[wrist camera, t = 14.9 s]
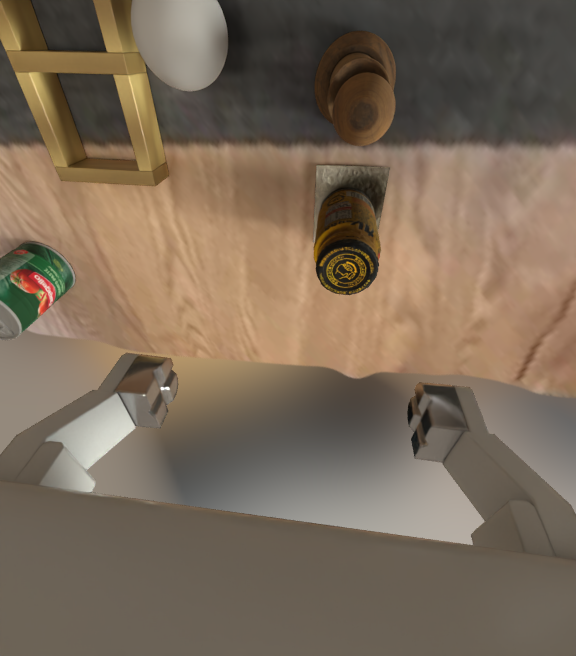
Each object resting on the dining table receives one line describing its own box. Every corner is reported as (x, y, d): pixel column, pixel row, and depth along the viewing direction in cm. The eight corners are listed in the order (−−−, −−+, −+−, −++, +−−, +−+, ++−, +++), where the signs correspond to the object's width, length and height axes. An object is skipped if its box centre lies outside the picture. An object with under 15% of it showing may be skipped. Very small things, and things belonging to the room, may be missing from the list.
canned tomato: (6, 252, 46) (-68, 299, 37) (41, 233, 43) (-31, 278, 35) (52, 296, 50) (-4, 346, 42) (87, 281, 47) (33, 331, 39)
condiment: (313, 241, 39) (304, 301, 30) (316, 164, 33) (307, 209, 24) (375, 244, 38) (386, 306, 29) (389, 166, 33) (408, 213, 24)
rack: (-28, -112, 24) (-73, -131, 21) (107, -115, 23) (76, -136, 20) (80, 171, 37) (60, 181, 34) (169, 175, 36) (155, 186, 33)
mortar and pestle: (340, 140, 32) (340, 213, 18) (301, 73, 29) (265, 100, 15) (406, 89, 28) (464, 131, 15) (369, 8, 25) (400, -32, 12)
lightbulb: (217, -39, 25) (155, -80, 17) (265, 48, 28) (234, 49, 20) (165, 24, 28) (90, 16, 19) (214, 97, 31) (168, 117, 22)
